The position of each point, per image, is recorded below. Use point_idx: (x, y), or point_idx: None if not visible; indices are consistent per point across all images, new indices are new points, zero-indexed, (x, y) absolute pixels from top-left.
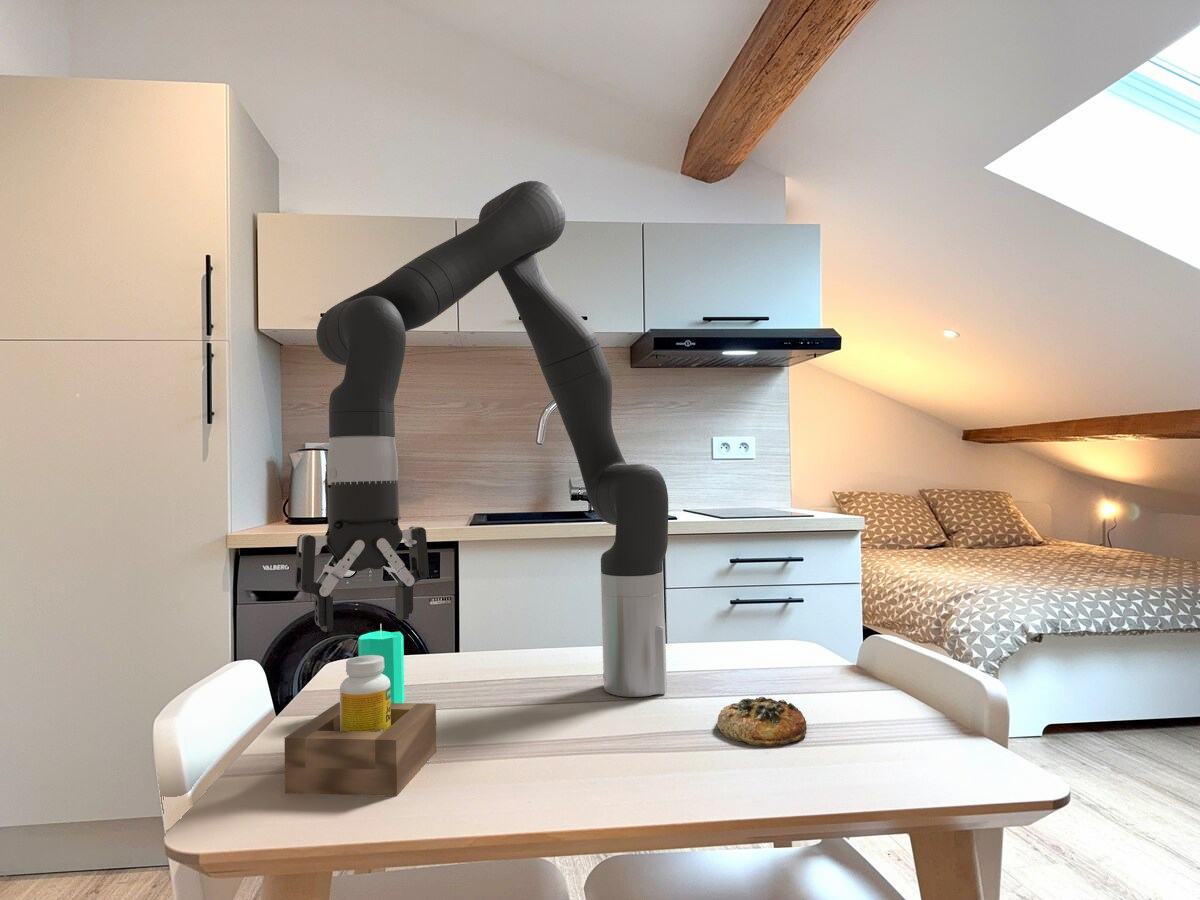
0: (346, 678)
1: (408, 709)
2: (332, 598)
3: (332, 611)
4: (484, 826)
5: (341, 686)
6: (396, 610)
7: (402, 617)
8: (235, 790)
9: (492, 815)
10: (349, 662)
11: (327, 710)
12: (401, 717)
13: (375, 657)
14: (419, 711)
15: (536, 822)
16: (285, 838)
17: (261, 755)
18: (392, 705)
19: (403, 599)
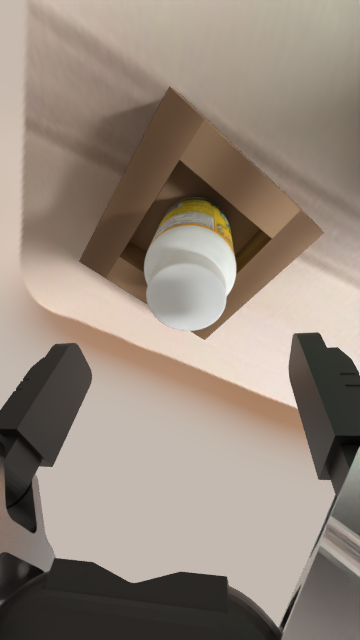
0: (154, 262)
1: (269, 236)
2: (54, 461)
3: (71, 421)
4: (241, 377)
5: (145, 275)
6: (299, 353)
7: (290, 374)
8: (45, 191)
9: (255, 369)
10: (151, 305)
11: (141, 148)
12: (242, 270)
13: (209, 297)
14: (278, 258)
15: (273, 388)
16: (110, 324)
17: (49, 27)
18: (258, 194)
19: (307, 432)
